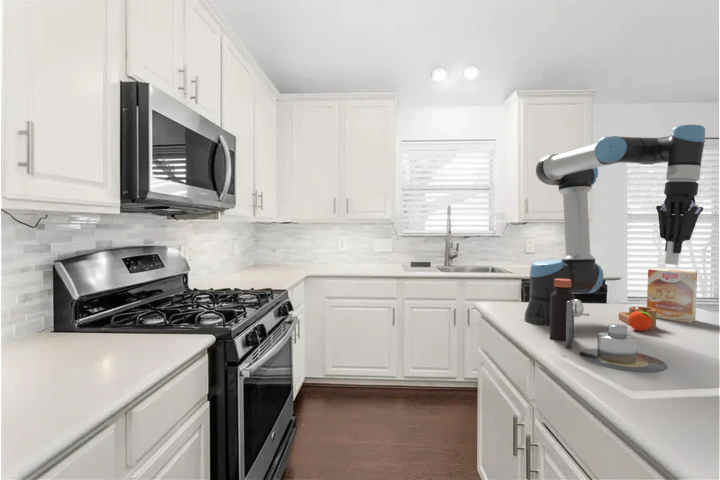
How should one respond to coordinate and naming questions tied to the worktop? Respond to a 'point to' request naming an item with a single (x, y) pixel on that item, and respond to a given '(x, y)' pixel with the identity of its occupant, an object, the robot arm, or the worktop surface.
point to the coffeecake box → (672, 294)
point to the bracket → (625, 315)
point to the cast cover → (617, 345)
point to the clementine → (640, 320)
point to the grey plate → (642, 365)
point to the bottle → (560, 309)
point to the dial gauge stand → (574, 310)
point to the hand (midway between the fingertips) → (671, 264)
